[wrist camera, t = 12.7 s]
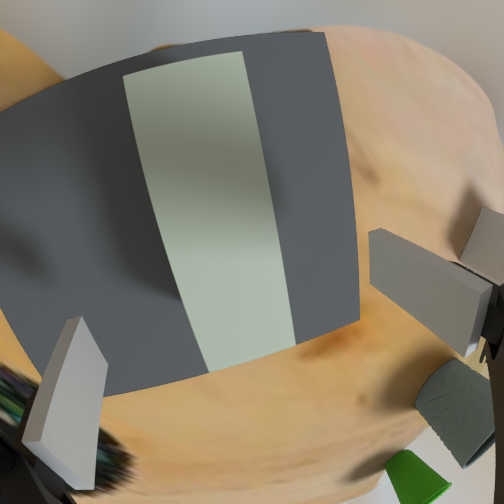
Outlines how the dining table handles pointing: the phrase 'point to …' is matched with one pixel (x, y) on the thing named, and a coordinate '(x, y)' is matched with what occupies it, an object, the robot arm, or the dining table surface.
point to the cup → (414, 479)
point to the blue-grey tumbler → (459, 410)
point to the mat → (143, 217)
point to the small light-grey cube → (486, 247)
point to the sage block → (213, 204)
